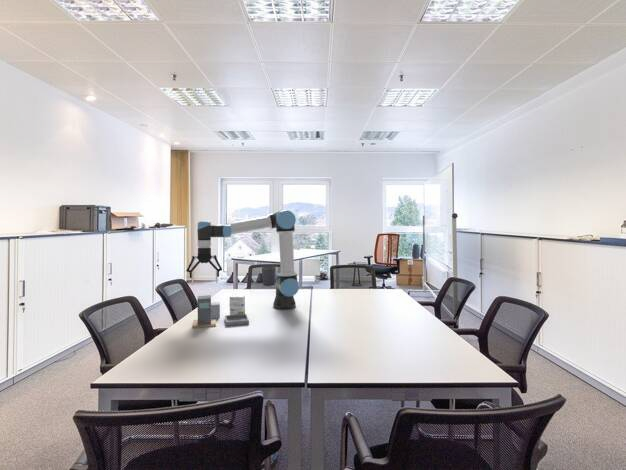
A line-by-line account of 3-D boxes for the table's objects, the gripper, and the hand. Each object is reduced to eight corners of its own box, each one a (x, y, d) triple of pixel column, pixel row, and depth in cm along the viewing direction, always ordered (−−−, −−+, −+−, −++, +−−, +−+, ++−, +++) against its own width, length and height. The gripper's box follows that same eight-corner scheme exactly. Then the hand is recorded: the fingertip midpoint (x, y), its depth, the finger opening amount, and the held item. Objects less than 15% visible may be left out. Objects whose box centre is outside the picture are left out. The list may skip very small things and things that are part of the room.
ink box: (245, 314, 211) (245, 295, 211) (243, 316, 206) (243, 297, 206) (231, 313, 212) (231, 295, 211) (229, 315, 207) (229, 296, 206)
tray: (246, 317, 202) (246, 313, 202) (248, 324, 189) (248, 320, 189) (225, 319, 199) (225, 315, 199) (226, 326, 186) (225, 322, 186)
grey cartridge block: (219, 315, 209) (219, 302, 208) (219, 317, 203) (219, 304, 203) (211, 315, 207) (211, 302, 207) (211, 318, 202) (211, 305, 201)
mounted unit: (215, 320, 197) (215, 294, 197) (215, 326, 186) (215, 298, 185) (193, 321, 194) (193, 295, 193) (192, 328, 182) (192, 300, 182)
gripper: (225, 246, 209) (226, 280, 210) (182, 247, 202) (182, 282, 203) (226, 247, 202) (226, 282, 203) (181, 248, 195) (181, 285, 195)
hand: (204, 282), depth 203 cm, fingers open, 13 cm apart
